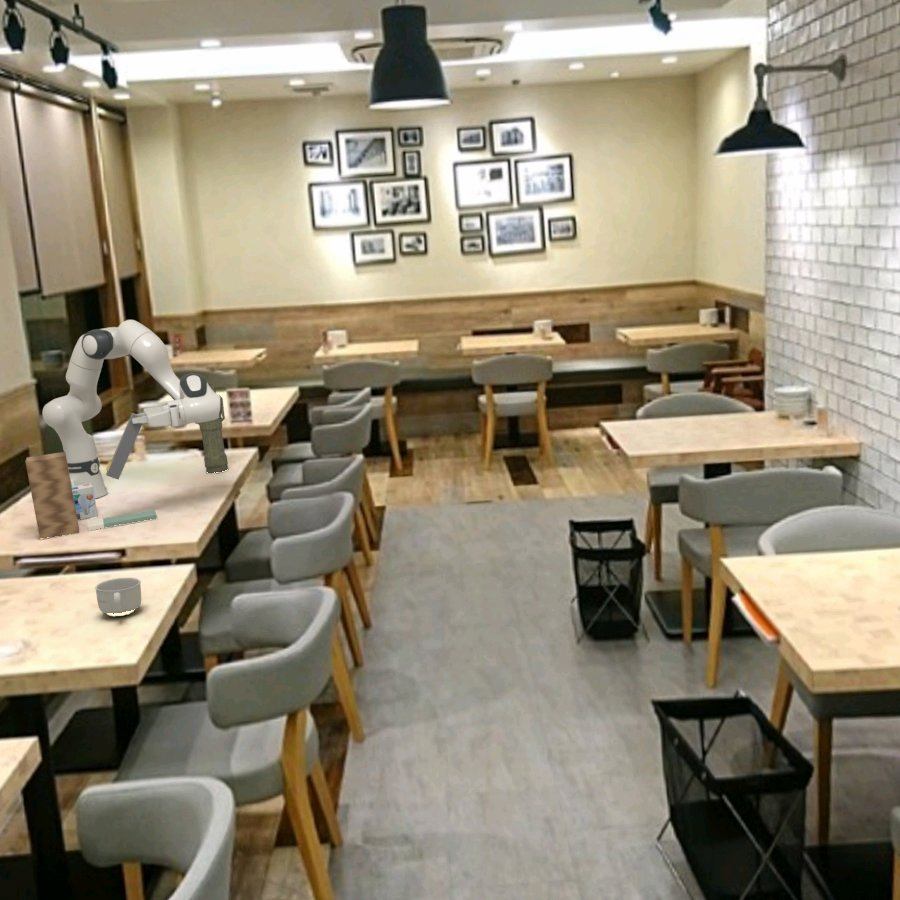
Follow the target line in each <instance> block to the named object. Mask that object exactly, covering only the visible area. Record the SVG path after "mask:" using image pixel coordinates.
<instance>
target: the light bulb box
mask: <svg viewBox="0 0 900 900" xmlns="http://www.w3.org/2000/svg"><path fill="white" fill-rule="evenodd" d="M72 492H73V498H74V503H75V509H76V515H77V520H78V521H81V520H86V519H85V518H87V519H90V517H92V518H97V517H98V510H97V504H96V498H95V496H94V490H93V486H92V485H91V484H85V485H79V486H74V487H72ZM96 516H97V517H96ZM80 519H81V520H80Z"/></svg>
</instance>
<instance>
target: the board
mask: <svg viewBox="0 0 900 900" xmlns="http://www.w3.org/2000/svg"><path fill="white" fill-rule="evenodd" d="M156 518H157V519H158V515H157V512H156V509H150V510H149V509H148V510H144V511H137V512H132V513H128V514H127V513H126V514H125V513H124V514H120V515H115V516H110V517H103V518H97V519H92V520H87V521H86V522H87V523H86V524H87V529H88V532H91V531H90V530H93V531H96V530H95V529H99V530H101V529H100V528H104V529H106V528H105V527H110V526H114V525H119V524H127V523H132V522H138V521H144V520H150V519H155V520H157V519H156ZM150 521H151V520H150ZM144 522H145V521H144ZM138 523H139V522H138ZM127 525H128V524H127ZM110 528H111V527H110Z"/></svg>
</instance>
